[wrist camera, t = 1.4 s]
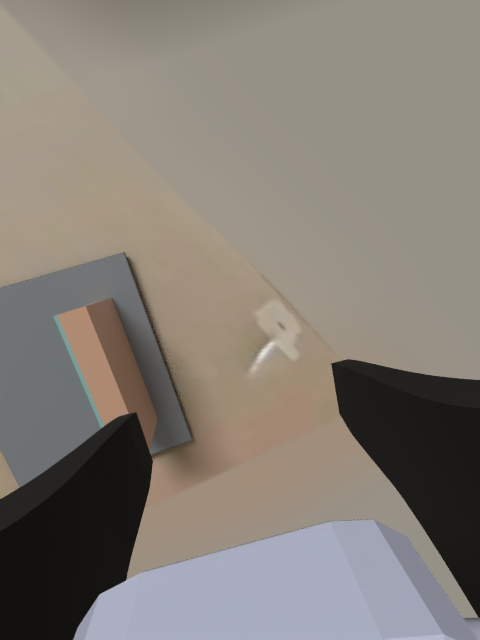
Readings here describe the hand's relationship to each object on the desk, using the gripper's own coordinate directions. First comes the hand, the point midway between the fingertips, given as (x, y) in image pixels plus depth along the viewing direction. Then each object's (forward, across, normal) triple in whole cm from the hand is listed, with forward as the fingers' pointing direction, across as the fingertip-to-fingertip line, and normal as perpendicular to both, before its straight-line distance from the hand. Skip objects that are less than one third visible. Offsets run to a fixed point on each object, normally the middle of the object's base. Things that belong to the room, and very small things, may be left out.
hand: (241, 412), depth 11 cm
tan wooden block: (+10, +7, 0) cm, 13 cm away
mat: (+11, +11, 0) cm, 15 cm away
